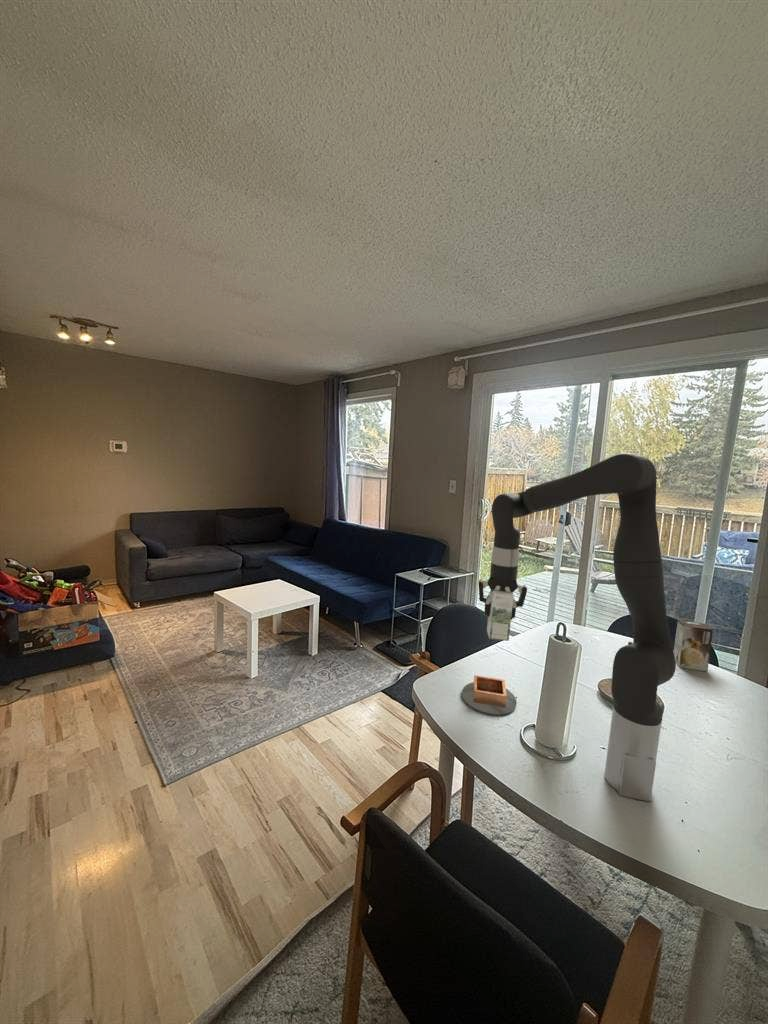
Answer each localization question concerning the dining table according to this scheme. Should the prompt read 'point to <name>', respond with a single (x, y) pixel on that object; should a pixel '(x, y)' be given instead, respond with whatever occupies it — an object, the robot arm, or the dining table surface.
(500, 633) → the syrup box
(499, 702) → the rosette socket
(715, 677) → the dining table surface
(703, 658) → the coffee box
